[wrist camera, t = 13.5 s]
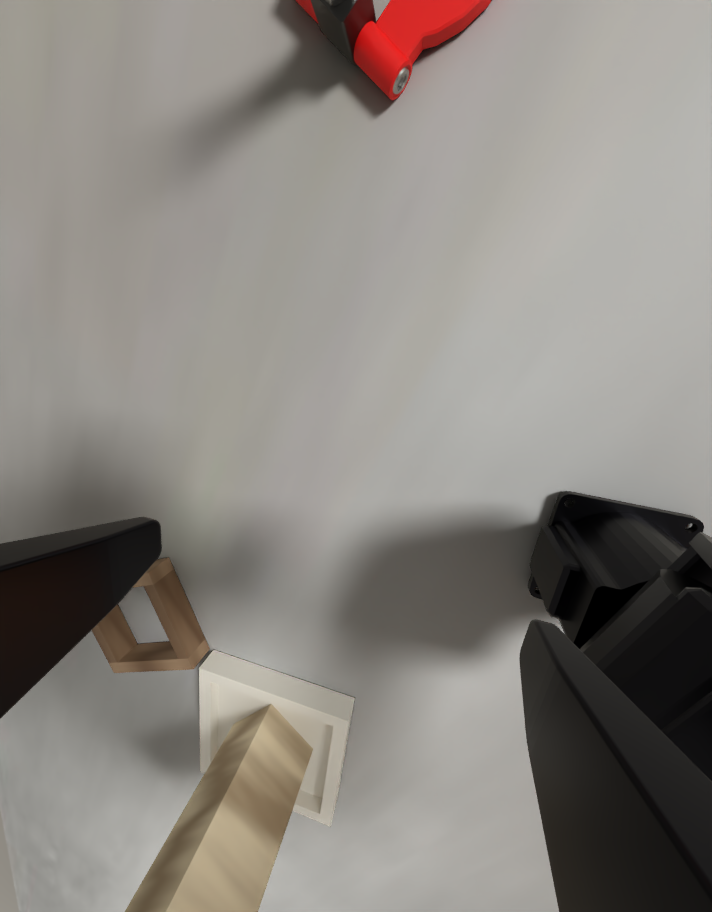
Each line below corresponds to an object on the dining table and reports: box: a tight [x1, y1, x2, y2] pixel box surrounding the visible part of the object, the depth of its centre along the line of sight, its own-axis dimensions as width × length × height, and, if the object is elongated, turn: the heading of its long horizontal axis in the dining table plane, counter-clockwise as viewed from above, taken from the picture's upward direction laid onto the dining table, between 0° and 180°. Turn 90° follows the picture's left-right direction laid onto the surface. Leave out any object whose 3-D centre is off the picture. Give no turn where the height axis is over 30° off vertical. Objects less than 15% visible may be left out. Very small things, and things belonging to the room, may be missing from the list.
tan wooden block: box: [125, 704, 313, 912], centre depth 23 cm, size 5×5×13 cm
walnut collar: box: [92, 558, 210, 673], centre depth 28 cm, size 8×8×2 cm
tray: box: [199, 650, 355, 827], centre depth 29 cm, size 12×12×2 cm
